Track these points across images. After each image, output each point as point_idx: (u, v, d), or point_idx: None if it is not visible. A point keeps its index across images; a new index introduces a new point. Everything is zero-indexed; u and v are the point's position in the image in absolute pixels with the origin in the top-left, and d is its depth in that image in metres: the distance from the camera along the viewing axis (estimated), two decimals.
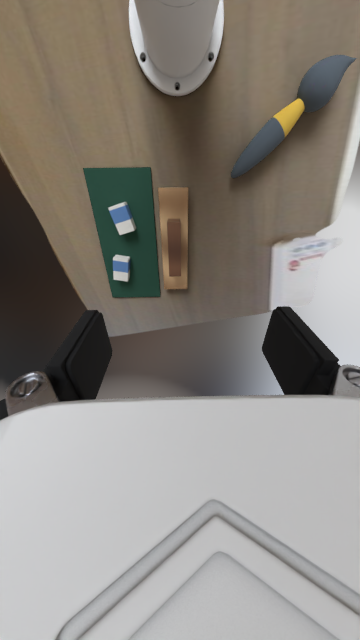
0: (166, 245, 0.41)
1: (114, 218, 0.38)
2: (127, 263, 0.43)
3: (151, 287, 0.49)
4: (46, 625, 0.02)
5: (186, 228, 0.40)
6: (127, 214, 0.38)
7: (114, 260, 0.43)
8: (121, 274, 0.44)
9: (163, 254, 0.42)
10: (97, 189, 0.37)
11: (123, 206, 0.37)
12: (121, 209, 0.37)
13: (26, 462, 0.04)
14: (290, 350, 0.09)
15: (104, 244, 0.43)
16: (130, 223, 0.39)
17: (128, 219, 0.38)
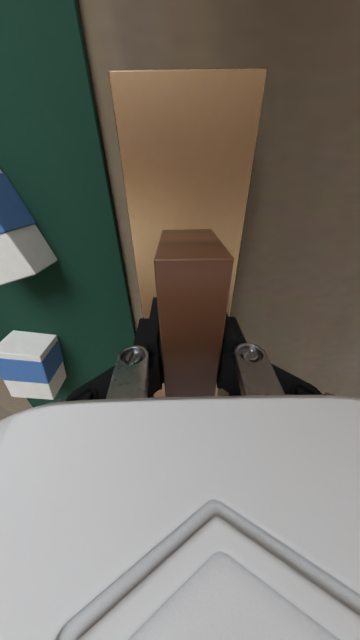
0: None
1: None
2: (40, 363, 0.14)
3: None
4: (46, 625, 0.02)
5: (232, 265, 0.11)
6: None
7: None
8: (31, 387, 0.15)
9: None
10: None
11: None
12: None
13: (26, 462, 0.04)
14: None
15: None
16: (12, 249, 0.10)
17: None
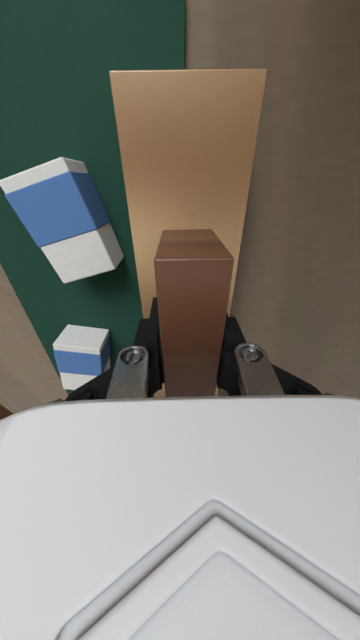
0: None
1: (33, 226, 0.10)
2: (98, 356, 0.15)
3: None
4: (46, 625, 0.02)
5: (232, 265, 0.11)
6: (83, 210, 0.09)
7: (58, 350, 0.14)
8: (84, 380, 0.16)
9: None
10: None
11: (62, 175, 0.09)
12: (55, 189, 0.09)
13: (26, 462, 0.04)
14: None
15: (31, 300, 0.15)
16: (98, 245, 0.10)
17: (89, 230, 0.10)
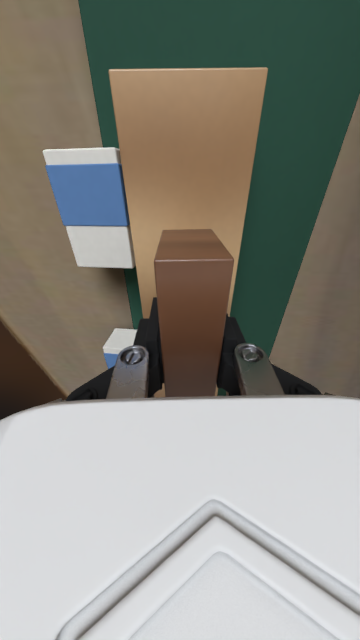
0: None
1: (64, 203, 0.09)
2: None
3: None
4: (46, 625, 0.02)
5: None
6: (120, 204, 0.09)
7: (107, 353, 0.15)
8: None
9: None
10: None
11: (110, 165, 0.08)
12: (99, 176, 0.09)
13: (26, 462, 0.04)
14: None
15: None
16: (124, 241, 0.10)
17: (119, 225, 0.10)
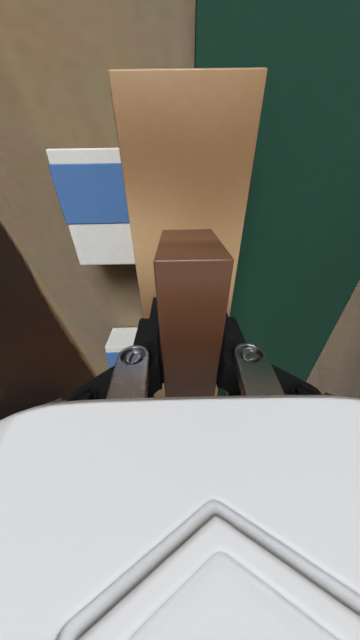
0: None
1: (68, 202, 0.09)
2: None
3: None
4: (46, 625, 0.02)
5: (232, 265, 0.11)
6: (125, 202, 0.09)
7: (110, 352, 0.15)
8: None
9: None
10: None
11: (115, 165, 0.09)
12: (104, 175, 0.09)
13: (26, 462, 0.04)
14: None
15: None
16: (128, 238, 0.10)
17: (124, 222, 0.10)
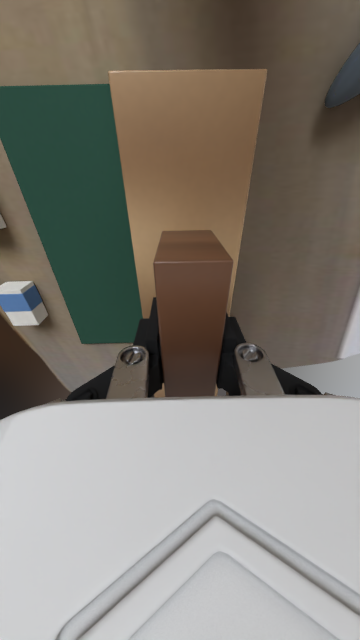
0: None
1: None
2: (22, 295, 0.23)
3: None
4: (46, 625, 0.02)
5: (232, 266, 0.11)
6: None
7: None
8: (22, 316, 0.25)
9: None
10: (22, 141, 0.17)
11: None
12: None
13: (26, 462, 0.04)
14: None
15: (55, 258, 0.23)
16: None
17: None
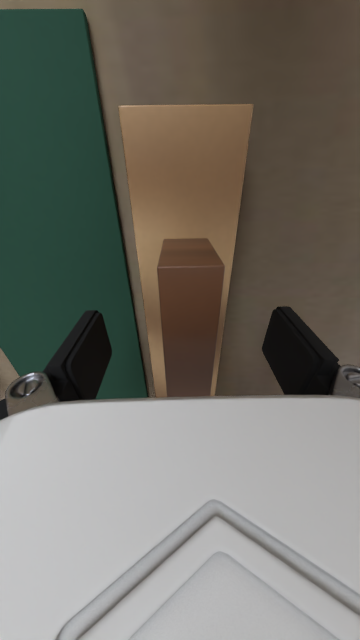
0: (160, 317, 0.13)
1: None
2: None
3: (127, 390, 0.21)
4: (46, 625, 0.02)
5: (227, 270, 0.12)
6: None
7: None
8: None
9: (151, 339, 0.14)
10: None
11: None
12: None
13: (26, 462, 0.04)
14: (290, 350, 0.09)
15: None
16: None
17: None
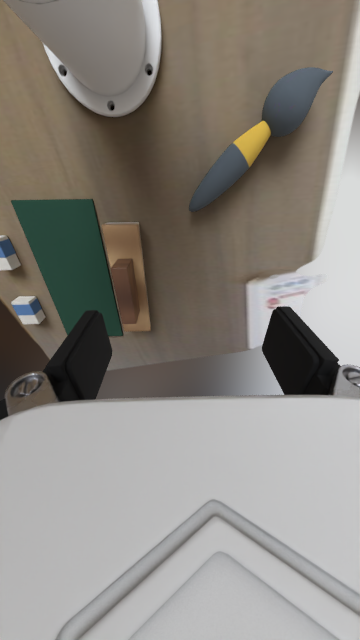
0: None
1: None
2: (29, 305, 0.37)
3: (111, 326, 0.43)
4: (46, 625, 0.02)
5: (141, 268, 0.34)
6: (1, 252, 0.32)
7: (13, 304, 0.37)
8: (29, 318, 0.39)
9: None
10: (32, 224, 0.31)
11: None
12: None
13: (26, 462, 0.04)
14: (290, 350, 0.09)
15: (50, 282, 0.37)
16: (6, 261, 0.33)
17: (3, 257, 0.32)
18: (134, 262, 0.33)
